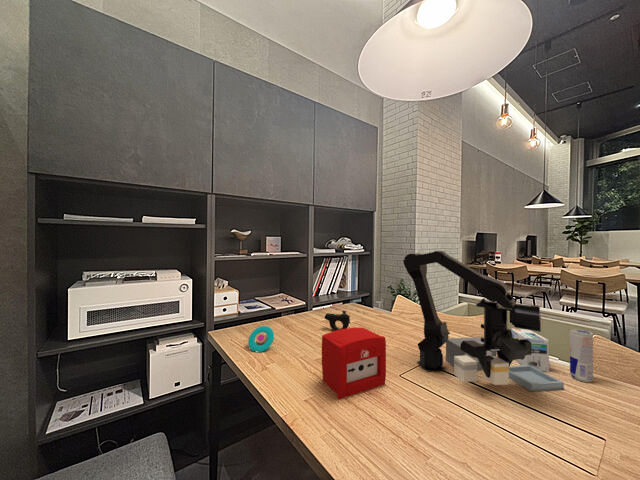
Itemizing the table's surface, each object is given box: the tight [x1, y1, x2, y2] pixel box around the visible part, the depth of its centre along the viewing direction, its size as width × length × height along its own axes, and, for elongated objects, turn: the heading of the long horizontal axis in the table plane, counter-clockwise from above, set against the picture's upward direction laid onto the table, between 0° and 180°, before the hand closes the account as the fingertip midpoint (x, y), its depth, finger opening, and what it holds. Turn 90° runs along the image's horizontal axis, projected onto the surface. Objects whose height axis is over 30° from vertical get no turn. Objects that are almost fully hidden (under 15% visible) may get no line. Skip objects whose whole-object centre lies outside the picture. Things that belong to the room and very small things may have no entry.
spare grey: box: [453, 355, 478, 383], centre depth 81 cm, size 5×5×6 cm
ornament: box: [248, 325, 275, 353], centre depth 103 cm, size 11×4×10 cm
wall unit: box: [445, 336, 497, 370], centre depth 90 cm, size 14×8×8 cm, turn 97°
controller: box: [324, 310, 351, 331], centre depth 122 cm, size 4×12×10 cm, turn 70°
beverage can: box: [569, 328, 594, 383], centre depth 81 cm, size 5×5×15 cm
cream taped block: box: [482, 356, 510, 386], centre depth 76 cm, size 5×5×6 cm
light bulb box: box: [510, 328, 550, 372], centre depth 91 cm, size 11×7×11 cm, turn 168°
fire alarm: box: [321, 327, 387, 400], centre depth 77 cm, size 16×11×15 cm
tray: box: [509, 365, 565, 393], centre depth 79 cm, size 11×11×2 cm
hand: (495, 376), depth 76 cm, fingers closed on cream taped block, 4 cm apart
